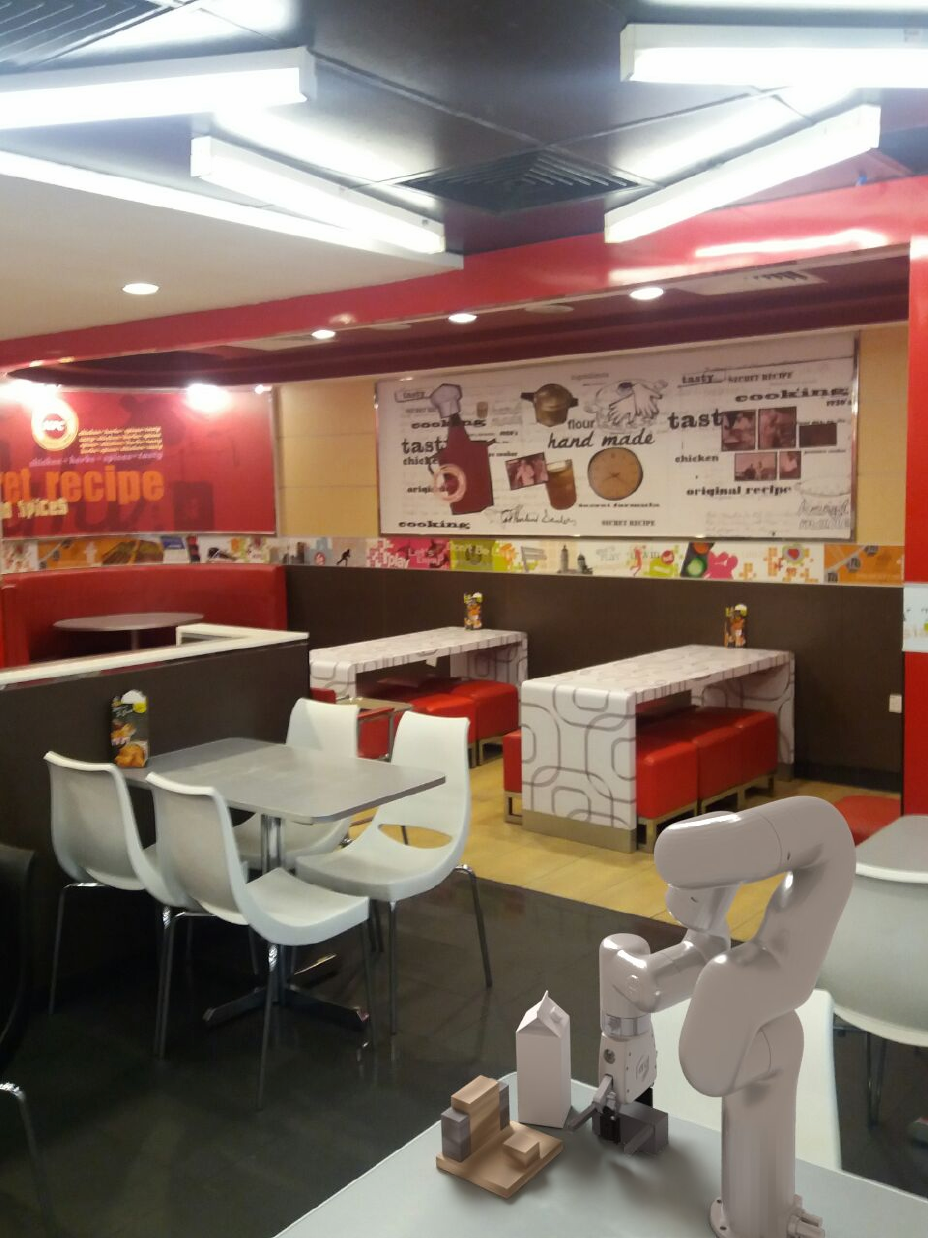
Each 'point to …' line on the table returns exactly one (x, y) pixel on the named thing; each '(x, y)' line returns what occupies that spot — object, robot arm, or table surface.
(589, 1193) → the table surface
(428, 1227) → the table surface
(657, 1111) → the grey bracket
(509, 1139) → the stacked wooden blocks
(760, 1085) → the robot arm
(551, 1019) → the milk carton
